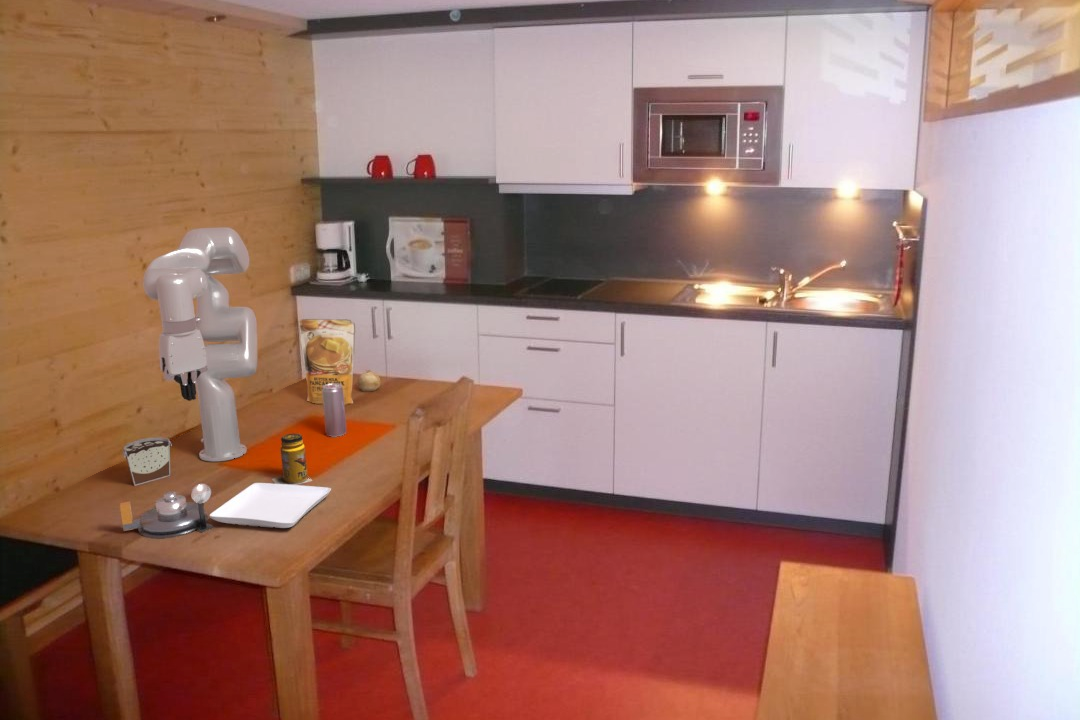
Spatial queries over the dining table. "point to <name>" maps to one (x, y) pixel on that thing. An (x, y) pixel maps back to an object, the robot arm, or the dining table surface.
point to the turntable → (154, 526)
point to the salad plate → (270, 505)
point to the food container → (148, 459)
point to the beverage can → (334, 409)
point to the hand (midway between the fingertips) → (189, 398)
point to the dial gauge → (201, 504)
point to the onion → (369, 381)
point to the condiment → (293, 461)
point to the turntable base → (169, 534)
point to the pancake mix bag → (327, 355)
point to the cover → (171, 507)
